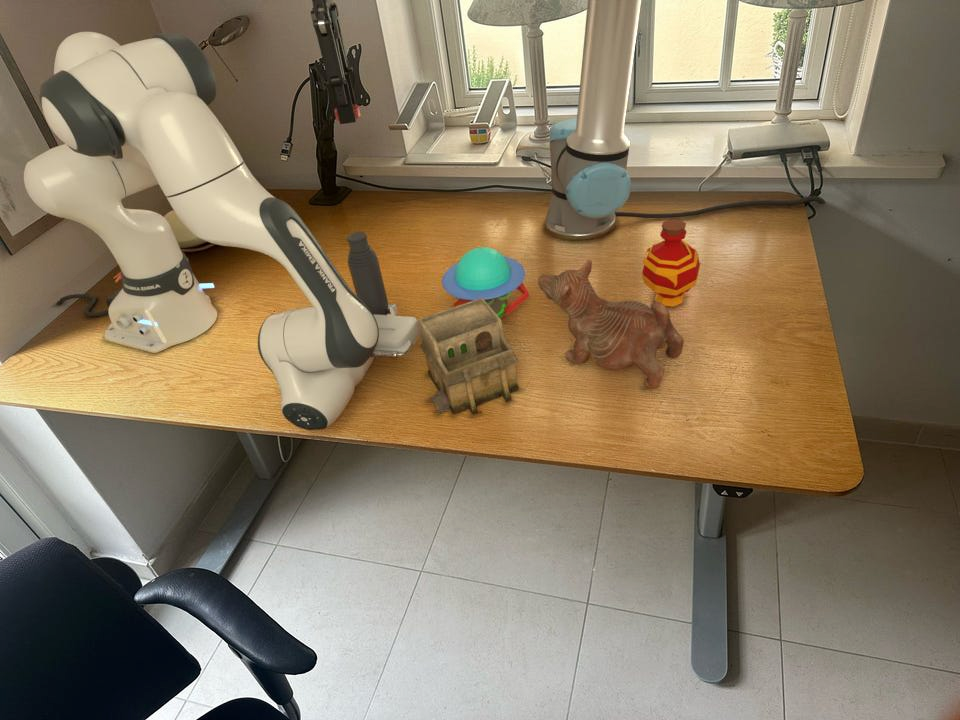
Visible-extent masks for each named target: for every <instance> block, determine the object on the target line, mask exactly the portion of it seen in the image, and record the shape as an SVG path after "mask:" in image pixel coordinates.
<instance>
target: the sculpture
mask: <svg viewBox="0 0 960 720" xmlns="http://www.w3.org/2000/svg"><path fill="white" fill-rule="evenodd" d="M592 266H593V261H592V260H591V259H588V260H586V262H585V263H584V264H583V265H582V266H581V268H579V269H566V270H564V271H562V272H561V273H559V274H545V273H544V274H541V275H540V276H539V277H538V279H537V284H538V287H539V289H540V290H541V291H542V292H543V294H544V295H545V297H546V298H547V299H549V300H550V301H552V302H554V303H555V304H556V305H557V306H558V307H559V308H560V309H562V311H564V312H565V313H566V314H567V315H568V322H567V326H568V330H569V332H570V333H571V336H573V337H574V338H575V342H574V345H573V349H569V350H567V351H566V352H565V359H566V361H569V362H570V363H574V364H576V365H582V364H584V363H585V362H587V360H588V359H589V356H590V355H591V358H592V359H593V360H594V362H595V363H596V364H598V365H599V366H600V367H603V368H604V369H609V370H621V369H625V368H627V367H630V366H631V365H633V364H636V366H637V367H638V368H639V369H640V370H641V371H642V372H643V373H644V374H645V375H646V376H647V377H646V378H645V380H644V386H645V387H646V388H648V389H657V388H658V387H659V385H660V383H661V381H662V379H663V378H664V375H665V368H664V366H663V365H662V364H661V363H660V362H659V361H658V360H657V357H656V356H657V355H656V354H657V351H659V350H661V349H663V348H664V347H665V346H666V345H667V348H666V350H665V355H666V356H667V357H669V358H671V359H678V358H679V357H680V356H681V354H682V352H683V348H684V342H685V340H684V337H683V336H682V335H681V334H680V333H679V331H678V330H677V329H676V327H675V326H674V324H673V322H672V320H671V315H670V314H671V313H670V311H669V309H668V306H665V305H664V304H663V303H661V302H657V301H655V300H654V301H653V302H651V304H650V305H647V304H645V303H643V302H640V301H636V300H621V301H615V302H614V301H613V302H612V301H609V300H606V299H604V298H602V297H600V296H598V295H597V293H596V290H595V289H594V288H593V286H592V284H591V282H590V280H589V276H590V274H591V272H592Z"/></svg>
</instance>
